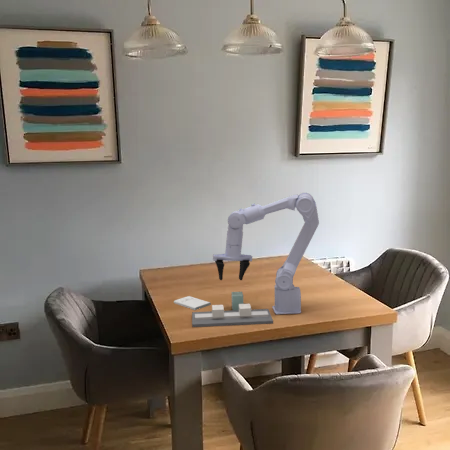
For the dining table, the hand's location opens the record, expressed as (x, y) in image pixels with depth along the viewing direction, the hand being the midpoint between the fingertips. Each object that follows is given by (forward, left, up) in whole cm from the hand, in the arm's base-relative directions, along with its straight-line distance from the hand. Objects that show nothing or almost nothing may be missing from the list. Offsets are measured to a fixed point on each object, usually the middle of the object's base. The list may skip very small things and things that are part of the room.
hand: (230, 279), depth 198 cm
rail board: (+1, +10, -12) cm, 15 cm away
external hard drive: (+15, -8, -12) cm, 21 cm away
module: (-2, 0, -12) cm, 12 cm away
